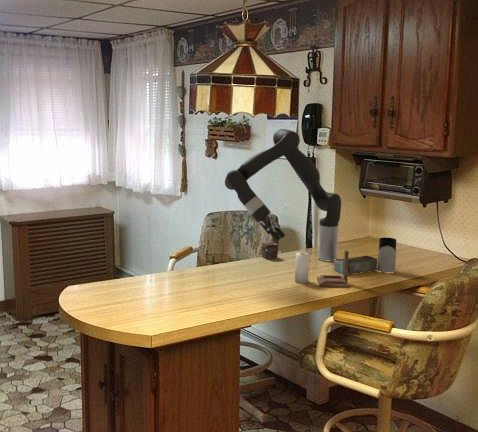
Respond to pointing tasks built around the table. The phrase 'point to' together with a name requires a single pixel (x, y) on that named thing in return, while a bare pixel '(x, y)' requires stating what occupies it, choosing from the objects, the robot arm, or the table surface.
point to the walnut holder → (336, 277)
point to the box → (269, 250)
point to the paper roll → (301, 267)
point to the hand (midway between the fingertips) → (281, 238)
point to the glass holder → (387, 255)
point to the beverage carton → (356, 264)
